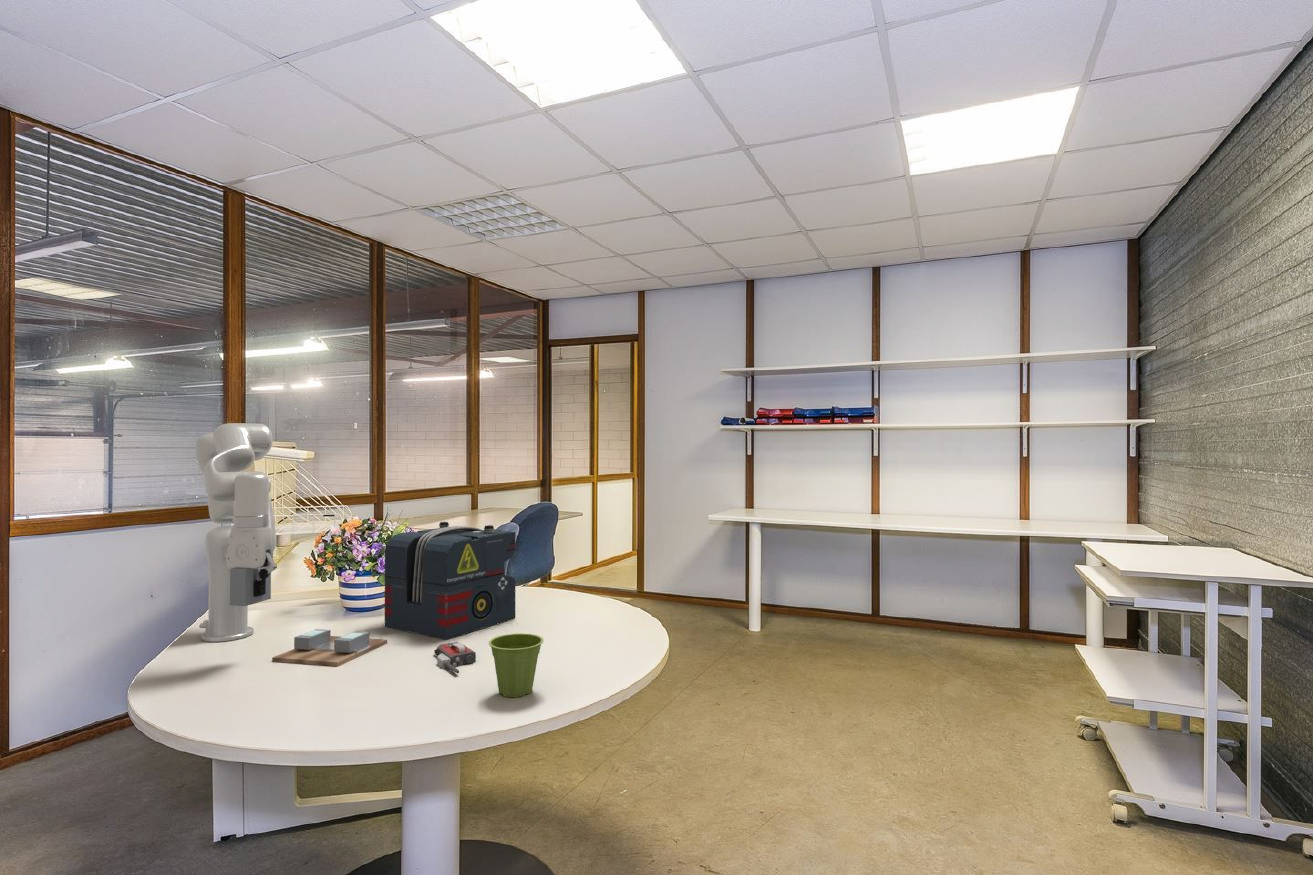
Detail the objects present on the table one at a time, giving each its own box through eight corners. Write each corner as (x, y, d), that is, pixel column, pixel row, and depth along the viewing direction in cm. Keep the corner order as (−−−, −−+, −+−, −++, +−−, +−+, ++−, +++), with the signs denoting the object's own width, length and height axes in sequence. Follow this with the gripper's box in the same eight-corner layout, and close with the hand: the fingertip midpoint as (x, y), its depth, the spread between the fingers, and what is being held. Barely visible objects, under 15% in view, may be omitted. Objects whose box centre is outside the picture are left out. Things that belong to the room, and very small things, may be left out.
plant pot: (493, 705, 138) (493, 651, 138) (484, 687, 149) (484, 636, 149) (549, 697, 143) (549, 644, 143) (536, 679, 154) (536, 630, 154)
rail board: (272, 661, 168) (272, 642, 168) (327, 639, 187) (327, 622, 187) (337, 666, 163) (337, 647, 164) (387, 643, 183) (387, 626, 183)
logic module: (229, 605, 164) (230, 568, 164) (255, 597, 171) (256, 562, 172) (245, 606, 163) (245, 569, 163) (270, 598, 171) (271, 563, 171)
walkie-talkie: (426, 657, 171) (453, 679, 155) (426, 640, 171) (453, 660, 155) (459, 651, 177) (488, 671, 161) (459, 634, 177) (488, 652, 161)
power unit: (446, 640, 186) (446, 533, 186) (383, 626, 200) (384, 527, 201) (516, 618, 209) (516, 523, 210) (456, 607, 224) (456, 519, 224)
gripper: (210, 523, 165) (210, 596, 165) (268, 525, 162) (267, 600, 162) (235, 519, 173) (235, 589, 173) (291, 521, 169) (290, 593, 169)
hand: (250, 594), depth 167 cm, fingers closed on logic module, 4 cm apart
